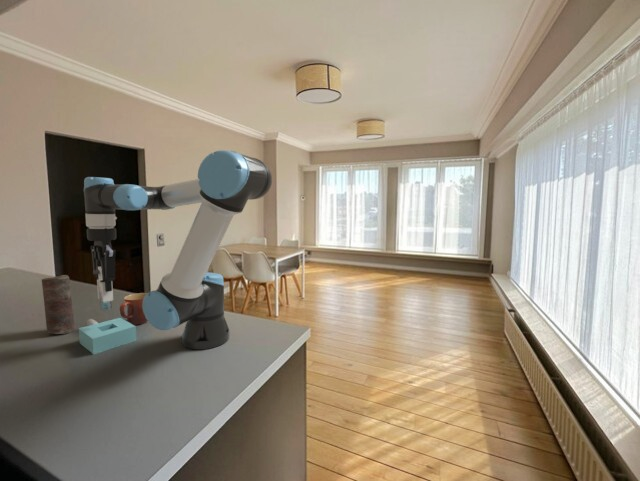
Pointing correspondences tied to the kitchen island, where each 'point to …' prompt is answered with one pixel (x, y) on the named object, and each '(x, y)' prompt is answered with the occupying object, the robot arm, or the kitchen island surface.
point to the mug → (134, 309)
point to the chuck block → (106, 334)
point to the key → (106, 304)
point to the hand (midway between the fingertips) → (105, 299)
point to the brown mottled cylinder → (58, 305)
